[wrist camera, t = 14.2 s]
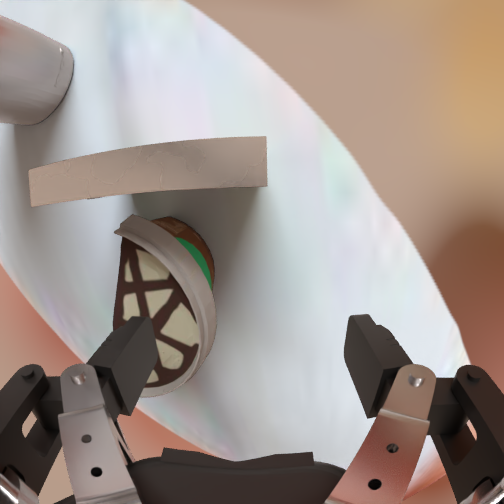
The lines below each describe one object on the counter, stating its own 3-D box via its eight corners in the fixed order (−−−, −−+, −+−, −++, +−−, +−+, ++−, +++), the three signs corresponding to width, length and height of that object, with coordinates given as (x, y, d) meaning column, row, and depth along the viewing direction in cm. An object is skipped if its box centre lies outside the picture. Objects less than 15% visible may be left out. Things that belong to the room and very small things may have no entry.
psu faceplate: (129, 189, 22) (31, 212, 10) (127, 165, 21) (28, 170, 10) (261, 181, 21) (267, 193, 10) (260, 155, 21) (266, 136, 9)
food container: (211, 344, 26) (193, 423, 16) (150, 325, 25) (108, 395, 16) (246, 218, 22) (238, 255, 13) (172, 198, 22) (115, 221, 12)
